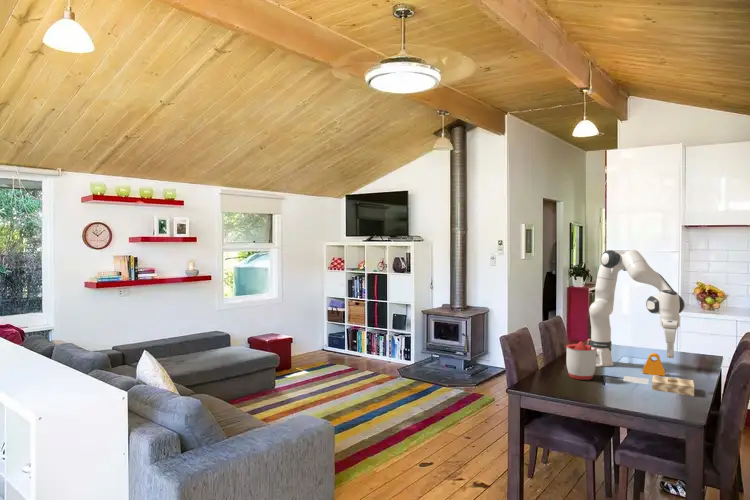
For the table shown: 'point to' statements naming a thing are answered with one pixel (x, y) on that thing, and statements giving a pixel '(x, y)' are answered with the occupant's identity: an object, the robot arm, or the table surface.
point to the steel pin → (670, 352)
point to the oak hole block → (673, 385)
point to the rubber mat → (636, 380)
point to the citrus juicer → (581, 361)
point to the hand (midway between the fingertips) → (670, 349)
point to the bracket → (654, 366)
